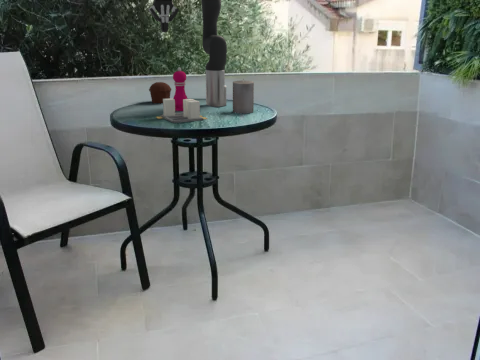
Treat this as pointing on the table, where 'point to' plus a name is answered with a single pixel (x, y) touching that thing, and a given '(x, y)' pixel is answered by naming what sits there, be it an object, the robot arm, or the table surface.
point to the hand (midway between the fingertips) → (164, 32)
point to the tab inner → (169, 107)
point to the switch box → (180, 118)
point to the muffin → (159, 92)
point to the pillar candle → (243, 96)
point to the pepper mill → (179, 89)
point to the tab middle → (186, 106)
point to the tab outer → (193, 109)
